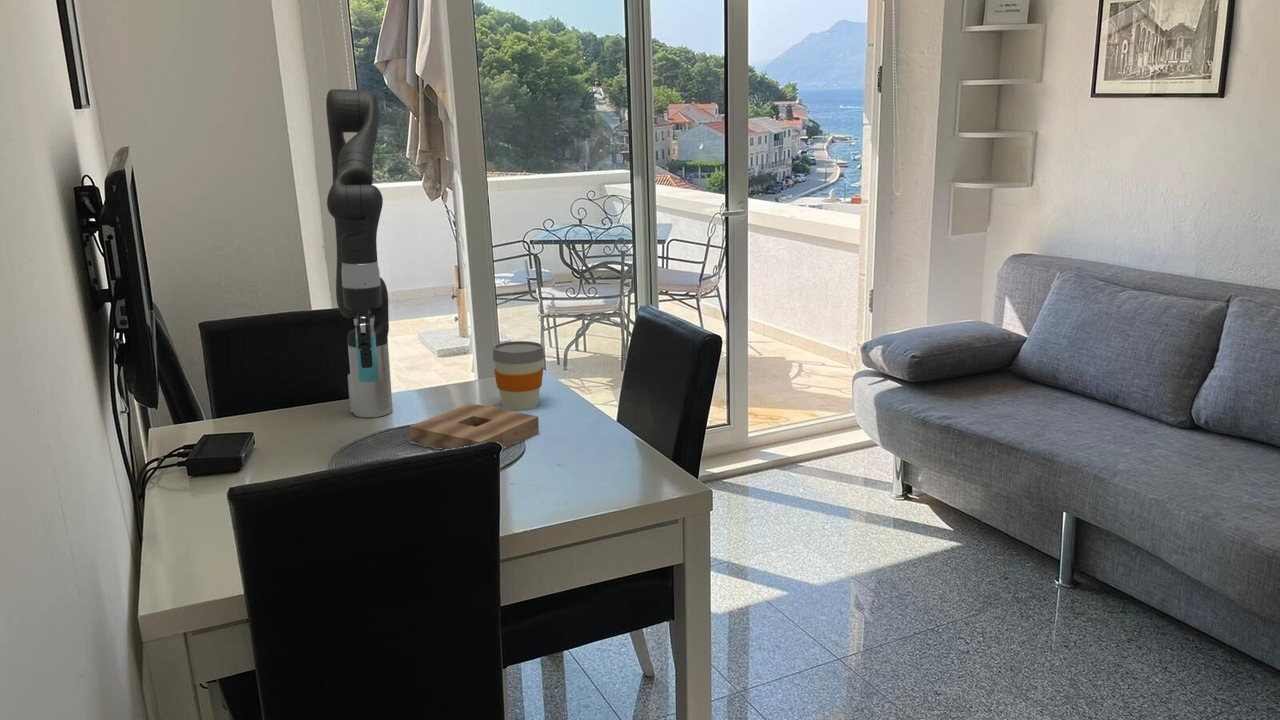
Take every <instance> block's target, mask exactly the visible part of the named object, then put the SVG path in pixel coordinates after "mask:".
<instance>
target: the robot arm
mask: <svg viewBox="0 0 1280 720" xmlns="http://www.w3.org/2000/svg"><path fill="white" fill-rule="evenodd" d="M377 97H378V96H377V94H375V92H373V91H371V90H367V89H347V88H346V89H343V88H339V89H338V88H335V89H329V91H327V93H326V102H325V103H326V105H325V106H326V108H325V109H326V118H327V119H326V120H327V127H328V128H327V130H328V138H329V145H330V153H331V155H330V156H331V164H332V165H331V167H332V185H331V187H330V189H329V191H328V194H327V200H326V206H327V210H328V212H329V214H330V216H332V217H333V218H334V224H335V225H334V226H335V228H334V229H335V236H336V237H335V239H336V240H335V242H336V271H335V272H336V273H335V274H336V277H335V296H336V302H337V303H336V304H337V307H338V310H339V312H340V314H341V315H342V316H343V317H344V318H347V319H352V318H353V324H354V326H355V328H353V329H352V330H350V331H348V333H347V337H346V339H347V349H348V350H347V351H348V352H347V353H348V362H349V372H350V373H348V374H347V383H348V384H347V385H348V398H349V408H350V413H353V416H356V417H358V418H378V417H384V416H387V415H389V414H391V413H392V412H393V410H394V409H393V398H392V397H393V395H392V382H391V367H390V354H389V353H390V352H389V338H388V336H389V333H390V332H389V330H390V327H389V325H390V323H389V322H390V321H389V319H390V317H389V295H388V294H389V292H388V288H387V284H386V282H385V281H384V279H383V278H382V277H381V276H380V274H381V272H380V267H379V262H378V249H377V248H378V247H377V246H378V245H377V239H378V238H377V235H378V228H379V223H380V218H381V213H382V210H383V209H382V208H383V204H384V203H383V202H384V201H383V200H384V199H383V195H382V192H381V191H380V189H379V188H378V187H377V186H375V185H373V182H374V153H375V148H376V144H377V138H378V133H379V132H378V131H379V126H380V125H379V124H380V108H379V107H380V105H379V101H378V98H377ZM344 133H354V134H355V133H356V134H355V135H354V136H353V137H352V138H350V139H349V140H348V141H347V142H346V139H345V137H344ZM373 331H374V332H375V337H376V351H377V364H378V378H379V379H378V380H376V381H372V382H361V381H359V376H358V364H357V351H356V338H357V339H358V348H359V350H360V355H361V367H362V368H371V367H372V351H371V350H372V344H371V339H372V338H373V337H374V335H373ZM355 333H356V338H355ZM361 340H368V343H362V342H361Z"/></svg>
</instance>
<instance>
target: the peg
mask: <svg viewBox="0 0 1280 720" xmlns="http://www.w3.org/2000/svg"><path fill="white" fill-rule="evenodd" d="M373 335H374V337H373V338H372V339H371V344H372V350H371V351H372V367H371V368H362V367H361V355H360V350H359V348H358V339H357V338H356V333H355V338H356V351H357V364H358V376H359V381H361V382H372V381H376V380H378V379H379V378H378V364H377V351H376V337H375V332H374V331H373ZM361 342H362V343H368V340H361Z"/></svg>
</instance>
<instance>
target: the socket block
mask: <svg viewBox="0 0 1280 720" xmlns="http://www.w3.org/2000/svg"><path fill="white" fill-rule="evenodd" d="M539 423H540V422H539V416H538V415H534V414H533V415H532V414H528V413H522V412H519V411H518V412H517V411H514V410H507V409H504V408H503V409H502V408H497V407H492V406H488V405H487V406H486V405H481V404H478V403H477V404H475V403H471V402H469V403H467V404H465V405H462V406H459V407H456V408H453V409H451V410H449V411H446V412H443V413H441V414H439V415H435V416H433V417H430V418H428V419H425V420H422V421H420V422H417V423H415V424H412V425H409V440H410V441H412V442H416V443H419V444H422V445H425V446H427V447H434V448H442V449H437V451H440V450H445V449H452V448H459V447H464V446H471V445H475V444H480V443H484V442H490V441H494V442H499V443H501V444H502V446H503V450H505V449H504V446H505V447H508V446H510V445H512V444H514V443H516V442H518V441H521V442H523V441H526V440H527V439H530V438H532V437H534V436H535V435H536V436H537V435H538V434H539V433H540V428H539V427H540V426H539ZM522 440H523V441H522ZM427 447H426V448H427ZM510 447H511V446H510ZM508 448H509V447H508ZM503 450H502V451H503Z"/></svg>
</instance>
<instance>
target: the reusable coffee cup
mask: <svg viewBox="0 0 1280 720" xmlns="http://www.w3.org/2000/svg"><path fill="white" fill-rule="evenodd" d="M544 358H545V353H544V346H543V345H542V344H541V343H539V342H535V341H526V340H525V341H523V340H519V341H518V340H517V341H516V340H515V341H506V342H505V341H504V342H501V343H497V344H496V345H494V346H493V350H492V360H493V361H494V367H495V368H494V369H493V371H494V377H495V382H496V388H497V389H498V390H499V396H500V403H501V407H502V408H503V409H504V410H508V411H514V412H517V411H518V412H519V411H529V410H533V409H535V408H537V407H538V406H539V400H540V399H539V398H540V388H541V387H542V384H543V375H544V366H543V359H544Z"/></svg>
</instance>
